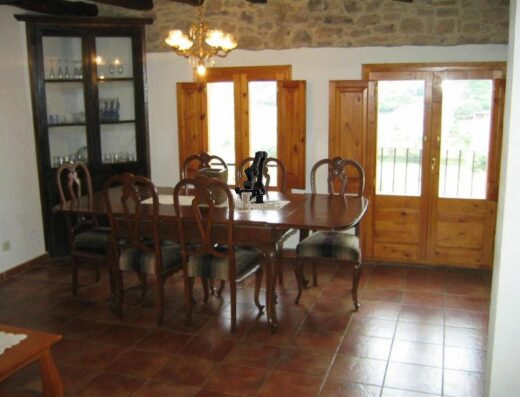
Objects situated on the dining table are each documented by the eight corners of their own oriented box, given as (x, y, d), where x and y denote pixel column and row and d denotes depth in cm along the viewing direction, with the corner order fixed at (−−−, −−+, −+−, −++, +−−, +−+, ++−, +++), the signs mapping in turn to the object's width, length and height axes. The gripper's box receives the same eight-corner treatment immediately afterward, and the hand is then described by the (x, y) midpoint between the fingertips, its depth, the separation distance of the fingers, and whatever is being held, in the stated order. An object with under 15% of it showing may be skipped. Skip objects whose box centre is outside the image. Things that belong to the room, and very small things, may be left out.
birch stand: (239, 210, 397) (239, 192, 395) (253, 211, 394) (253, 193, 392) (235, 213, 387) (234, 195, 385) (248, 214, 384) (248, 196, 382)
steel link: (242, 208, 396) (242, 192, 393) (250, 209, 394) (250, 192, 392) (241, 209, 394) (241, 192, 392) (249, 209, 392) (249, 193, 390)
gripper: (235, 175, 396) (230, 193, 388) (260, 176, 391) (255, 195, 383) (238, 184, 405) (233, 202, 397) (263, 186, 400) (259, 204, 391)
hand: (245, 200), depth 392 cm, fingers closed on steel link, 6 cm apart
